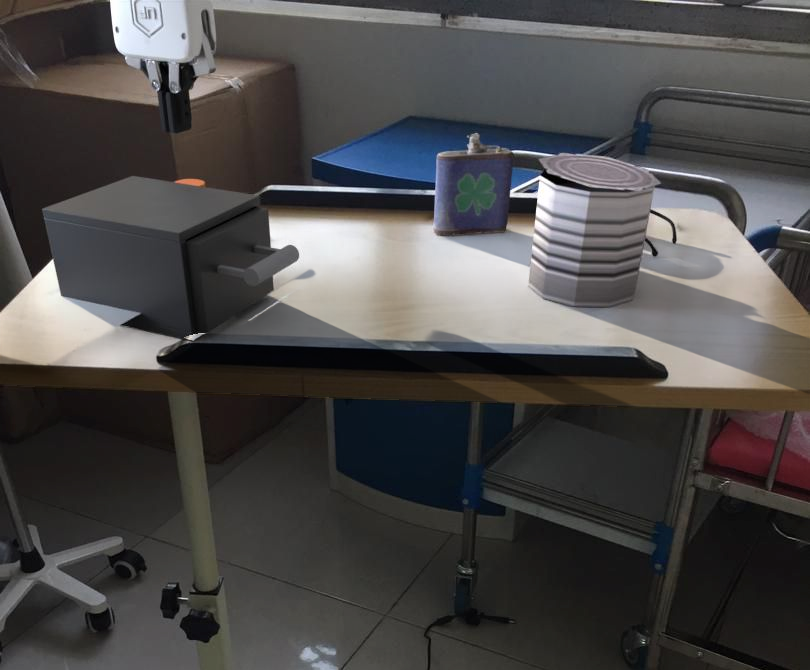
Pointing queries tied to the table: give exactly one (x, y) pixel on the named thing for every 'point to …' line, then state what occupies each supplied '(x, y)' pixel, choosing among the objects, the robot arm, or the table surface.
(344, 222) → the table surface
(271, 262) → the pull-out drawer box
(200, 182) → the button
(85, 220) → the grey drawer casing
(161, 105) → the robot arm
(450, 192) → the flask
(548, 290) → the can
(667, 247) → the table surface
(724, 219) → the table surface
